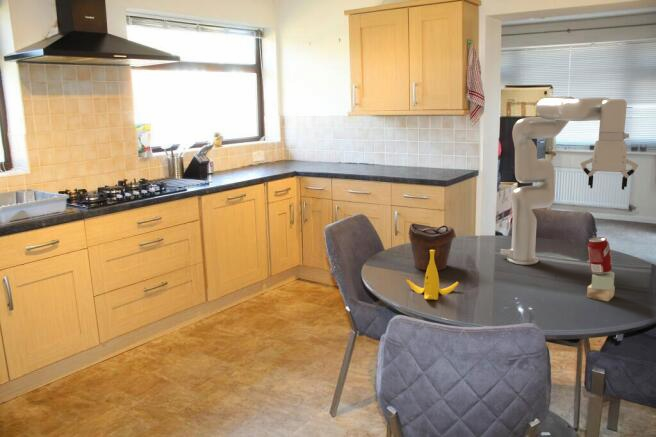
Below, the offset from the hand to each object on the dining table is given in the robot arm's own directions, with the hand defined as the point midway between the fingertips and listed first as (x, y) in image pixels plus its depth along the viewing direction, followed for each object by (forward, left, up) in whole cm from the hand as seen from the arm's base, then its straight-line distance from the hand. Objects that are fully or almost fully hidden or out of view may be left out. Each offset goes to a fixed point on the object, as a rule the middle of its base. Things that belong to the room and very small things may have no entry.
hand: (606, 188), depth 197 cm
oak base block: (+1, 0, -39) cm, 39 cm away
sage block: (+1, 0, -35) cm, 35 cm away
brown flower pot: (-63, +14, -38) cm, 75 cm away
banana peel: (-53, -16, -39) cm, 68 cm away
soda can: (+1, 0, -30) cm, 30 cm away
